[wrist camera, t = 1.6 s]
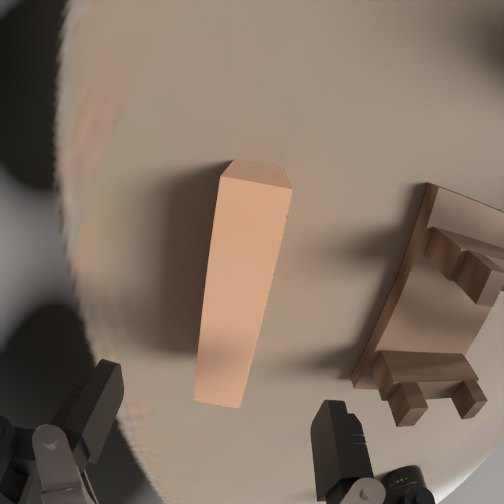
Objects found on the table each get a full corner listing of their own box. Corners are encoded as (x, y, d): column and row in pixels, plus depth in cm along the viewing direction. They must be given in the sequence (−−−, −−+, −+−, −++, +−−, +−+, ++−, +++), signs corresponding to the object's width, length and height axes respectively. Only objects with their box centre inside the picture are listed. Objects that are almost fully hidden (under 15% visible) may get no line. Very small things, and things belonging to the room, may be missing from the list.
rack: (427, 182, 18) (497, 218, 11) (515, 217, 18) (576, 255, 11) (350, 376, 24) (368, 446, 18) (437, 377, 25) (464, 434, 18)
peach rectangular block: (234, 159, 18) (220, 176, 12) (284, 168, 18) (292, 189, 13) (207, 342, 24) (193, 400, 18) (244, 349, 24) (239, 408, 18)
